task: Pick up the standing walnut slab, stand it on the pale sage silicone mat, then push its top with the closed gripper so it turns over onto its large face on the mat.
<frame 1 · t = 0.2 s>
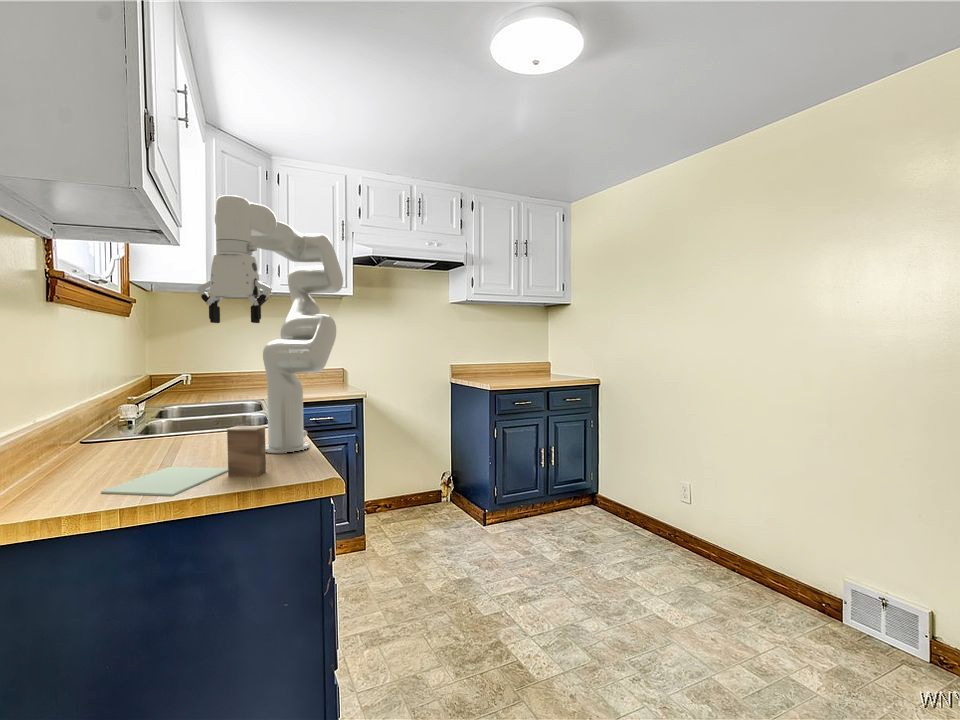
hand: (235, 322, 122), 36 cm above the table, tool pointing down, fingers open, 9 cm apart
sage mat: (170, 480, 115), on the table
walnut slab: (247, 474, 120), on the table
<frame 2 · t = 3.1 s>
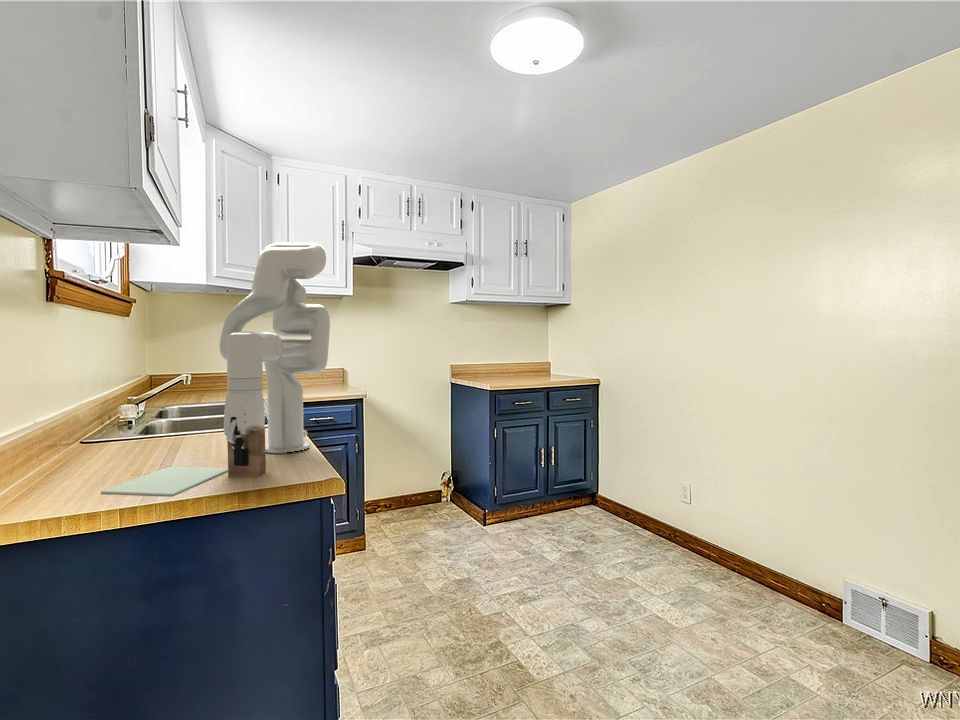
hand: (247, 462, 120), 3 cm above the table, tool pointing down, fingers closed on walnut slab, 4 cm apart
walnut slab: (247, 474, 120), on the table, touching gripper
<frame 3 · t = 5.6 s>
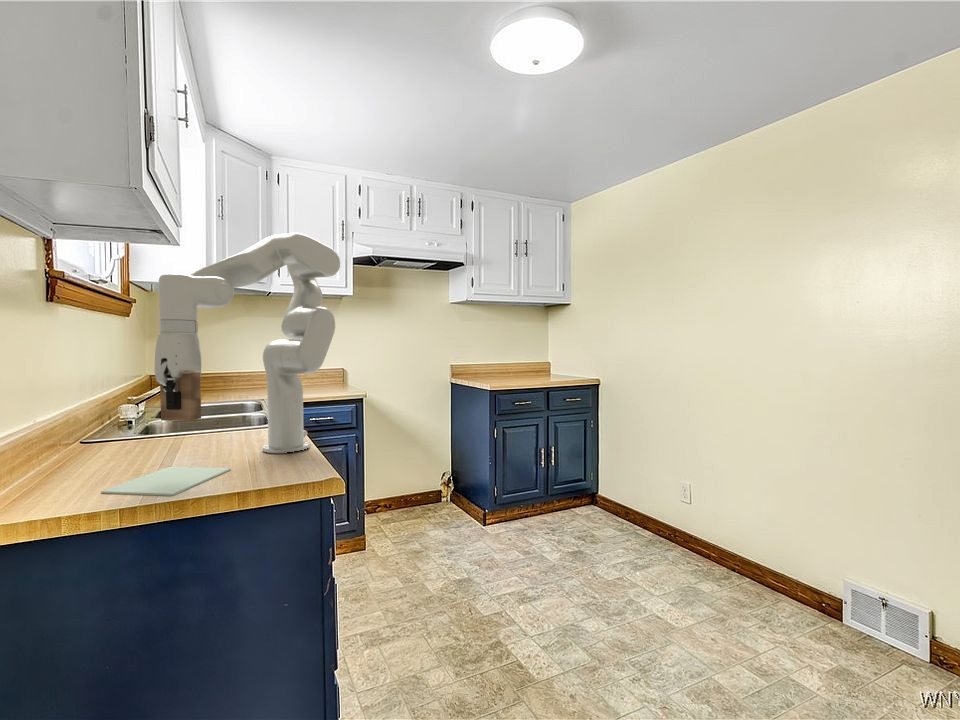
hand: (181, 407, 118), 16 cm above the table, tool pointing down, fingers closed on walnut slab, 4 cm apart
walnut slab: (181, 419, 118), point 13 cm above the table, touching gripper
when the fingers open (4 cm above the table, at t = 8.0 s): walnut slab stays where it is, resting on sage mat.
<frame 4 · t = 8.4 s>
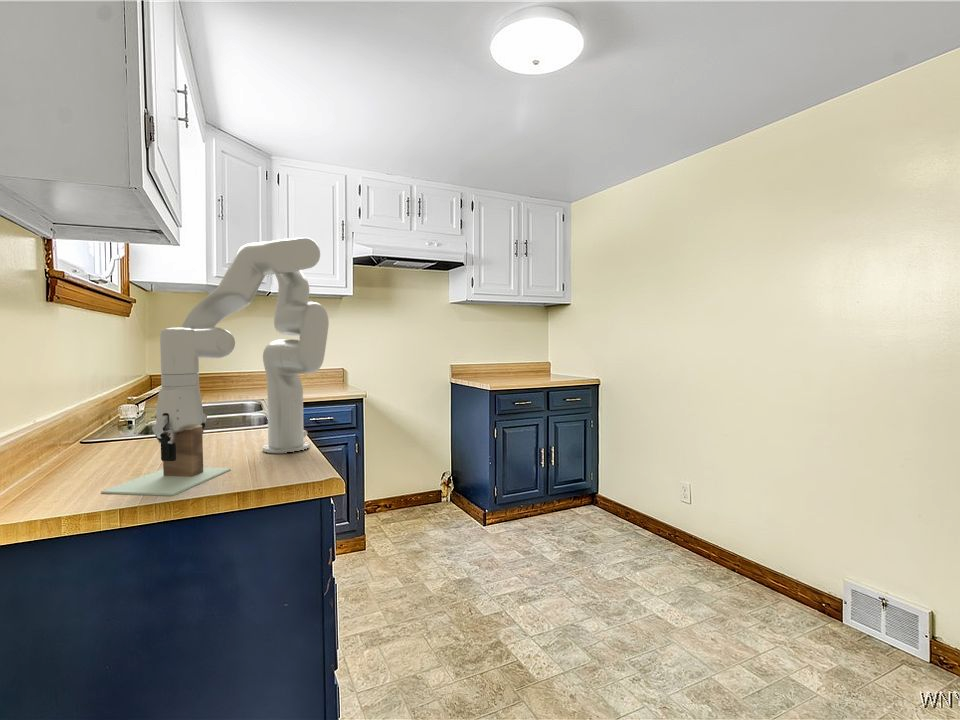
hand: (182, 455, 118), 5 cm above the table, tool pointing down, fingers open, 8 cm apart
walnut slab: (183, 474, 119), resting on sage mat
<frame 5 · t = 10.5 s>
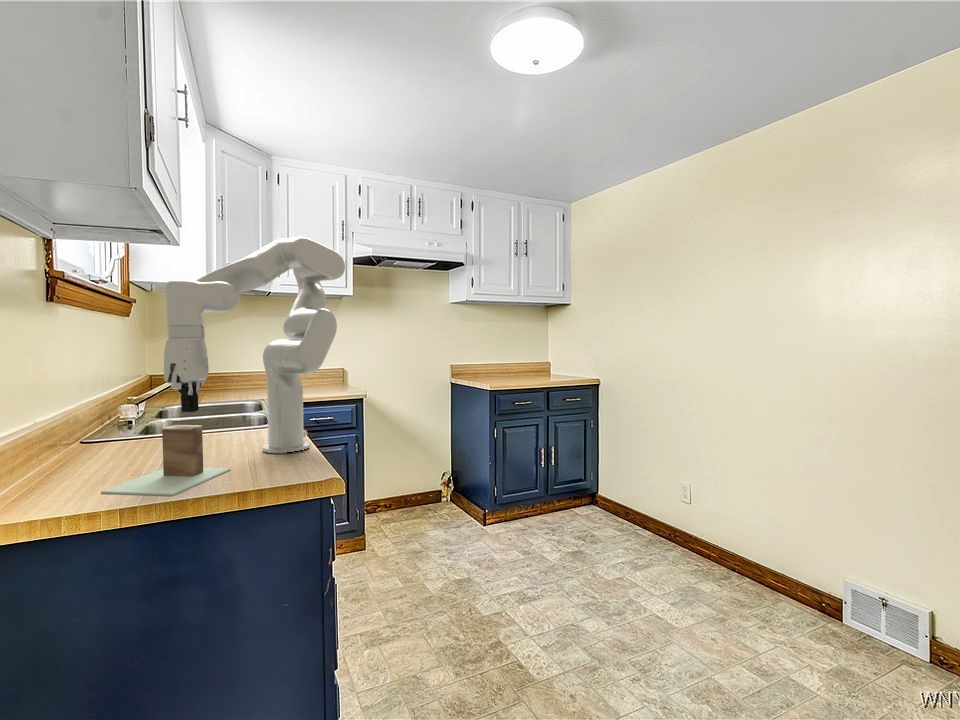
hand: (190, 411, 121), 15 cm above the table, tool pointing down, fingers closed
nothing on the table moved.
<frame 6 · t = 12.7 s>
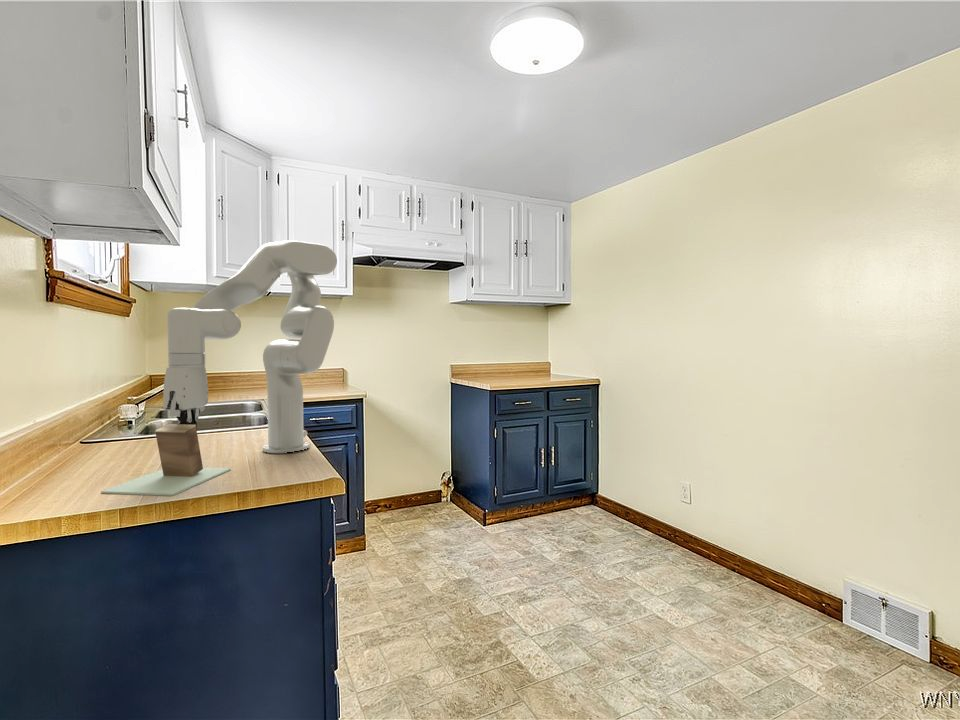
hand: (188, 438, 121), 8 cm above the table, tool pointing down, fingers closed
walnut slab: (183, 472, 119), point 1 cm above the table, tilted 11°, touching sage mat
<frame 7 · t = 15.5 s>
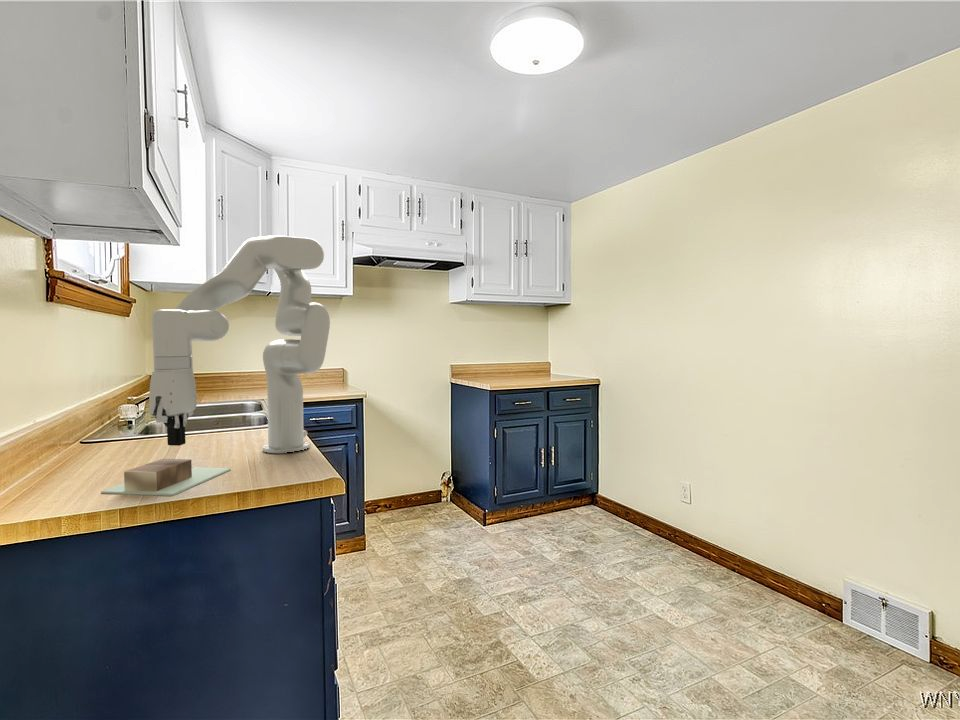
hand: (176, 444, 116), 8 cm above the table, tool pointing down, fingers closed
walnut slab: (177, 467, 117), point 2 cm above the table, tilted 90°, touching sage mat
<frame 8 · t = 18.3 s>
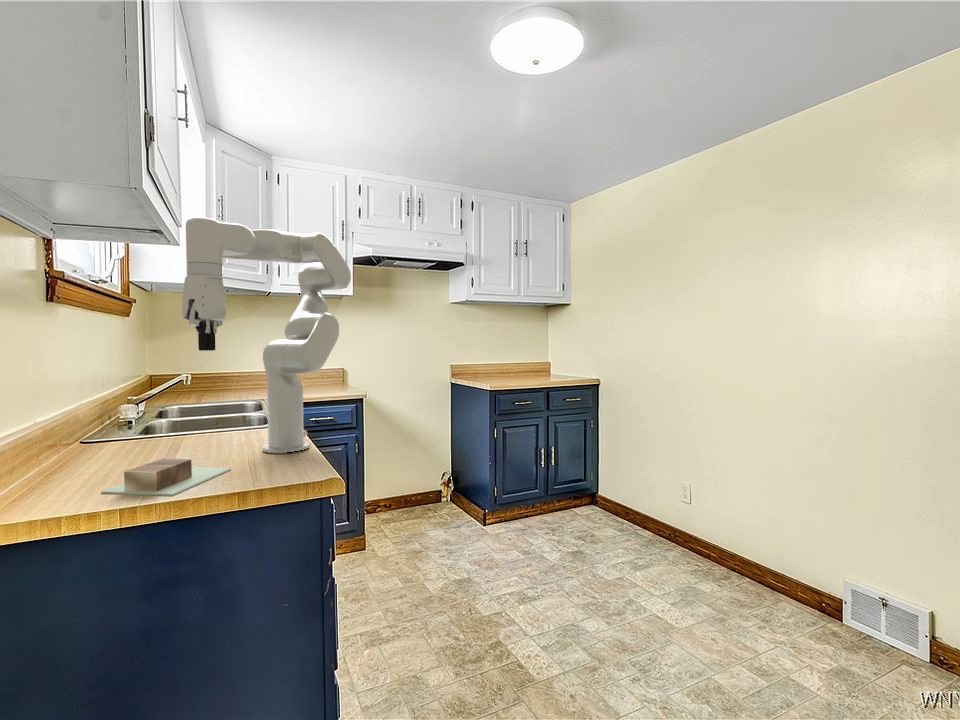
hand: (207, 350, 121), 29 cm above the table, tool pointing down, fingers closed
nothing on the table moved.
at the end: walnut slab tilted 90°; walnut slab inside the target area on the sage mat (3.1 cm from its centre), point 2.4 cm above the sage mat's base; the gripper is holding nothing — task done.
